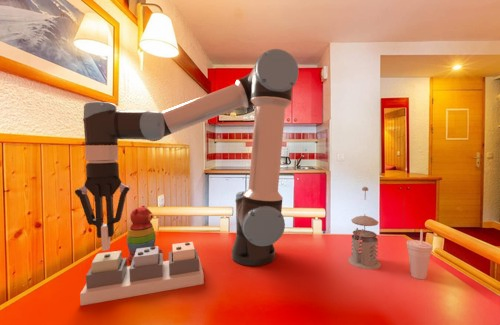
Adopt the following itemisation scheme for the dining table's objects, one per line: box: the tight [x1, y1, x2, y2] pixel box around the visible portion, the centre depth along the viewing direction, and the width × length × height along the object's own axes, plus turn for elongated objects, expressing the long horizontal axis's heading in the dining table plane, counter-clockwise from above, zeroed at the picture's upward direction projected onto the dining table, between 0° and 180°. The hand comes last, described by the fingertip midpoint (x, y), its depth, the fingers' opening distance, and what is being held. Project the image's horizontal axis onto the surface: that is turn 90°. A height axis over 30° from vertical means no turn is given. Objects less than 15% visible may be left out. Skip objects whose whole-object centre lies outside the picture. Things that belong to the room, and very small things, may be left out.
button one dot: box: [91, 250, 123, 273], centre depth 69 cm, size 6×6×4 cm
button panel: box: [79, 247, 205, 306], centre depth 73 cm, size 30×12×6 cm, turn 108°
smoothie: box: [406, 228, 434, 280], centre depth 74 cm, size 6×6×14 cm
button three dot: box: [134, 245, 160, 267], centre depth 72 cm, size 6×6×4 cm
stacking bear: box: [126, 205, 163, 263], centre depth 90 cm, size 11×10×18 cm
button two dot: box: [172, 241, 195, 262], centre depth 75 cm, size 6×6×4 cm
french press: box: [348, 186, 382, 270], centre depth 82 cm, size 10×12×25 cm
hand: (106, 248), depth 69 cm, fingers closed
